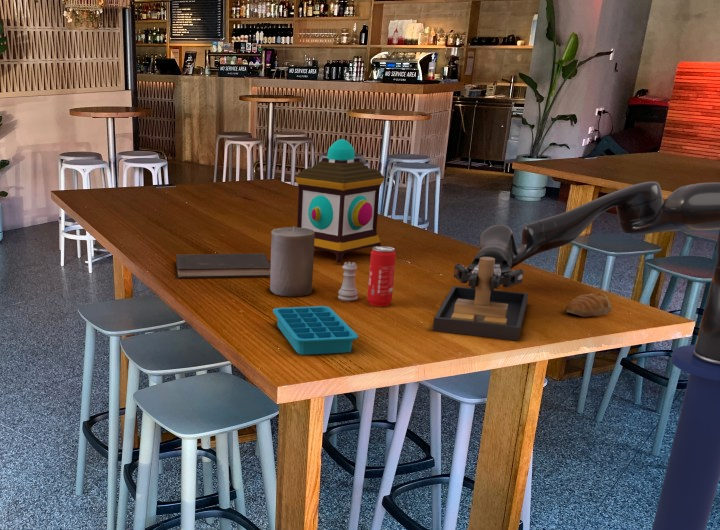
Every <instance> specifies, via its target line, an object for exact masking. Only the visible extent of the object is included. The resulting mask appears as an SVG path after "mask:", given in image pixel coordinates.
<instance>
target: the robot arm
mask: <svg viewBox="0 0 720 530" xmlns="http://www.w3.org/2000/svg"><path fill="white" fill-rule="evenodd" d="M612 208H615V209H616V213H617V214H616V215H617V218H618V224H619V227H620V229H621V231H622V233H624V234H625V235H628V236H642V235H649V234H656V233H658V234H659V233H665V232H688V233H689V232H693V233H694V232H707V231H716V230H719V231H718V234H717V241H716V259H715V260H716V261H715V264H714V268H713V272H712V277H711V280H710V285H709V289H708V293H707V297H706V301H705V305H704V308H703V309H704V310H703V313H702V317H701V320H700V325H699V330H698V332H697V333H698V334H697V339H696V342H695V344H694V345H695V349H694V352H693V356H694V357H695V358H696V359H698V360H700V361H702V362H705V363H708V364H712V365H716V366H720V182H716V181H715V182H712V181H711V182H697V183H691V184H685V185H683V186H680V187H678V188H676V189H675V190H674V191H672V192H670V194H669V195H668V196H667V197H666V199H665V200H664V198H663V191H662V189H661V186H660V183H659V182H657V181H643V182H639V183H634V184H631V185H628V186H626V187H622V188H620V189H617V190H615V191H612V192H610V193H607V194H605V195H602V196H600V197H598V198H595V199H592V200H591V201H588V202H586V203H583V204H581V205H579V206H576V207H575V208H571V209H570V210H568V211H564V212H562V213H559V214H555V215H553V216H550V217H546V218H542V219H538V220H536V221H533V222H529V223H527V224H525V225H524V226H523V228H522V233H521V242H520V246H519V247H518V248H517V244H516V240H515V236H514V231H513V230H512V228H511V227H510V226H508V225H506V224H494V225H490V226H488V227H487V228H485V230H483V231H482V233H481V234H480V235H479V239H478V240H479V250H478V251H477V253H476V255H475V256H474V257H473V260H472V262H471V264H468V265H467V267H466V266H465V265H463V264H461V263H455V264H454V268H453V277H454V278H455V279H456V280H457V281H459V282H460V283H462V284H467V283H468V285H467V287H470V288H471V289H475V288H476V285H477V277H478V269H479V261H480V258H481V257H492V258H495V265H494V272H493V277H492V279H491V285H490V291H494V290H498V289H499V288H500V286H502V288H503V287H504V288H511V287H513V286H516V285H519V284H522V283H523V277H524V272H525V271H524V269H522V268H519V269H516V270H515V269H513V268H515V267H517V266H518V265H520V264H521V263H523V262H524V261H527V260H528V259H530V258H532V257H533V256H536V255H538V254H541V253H545V252H546V251H550V250H555V249H557V248H560V247H564V246H566V245H568V244H570V243H572V242H574V240H576V239H577V238H578V237H579V236H580V235H581V234H582V233H583V232H584V231H585V230H587V228H588V227H589V226H590V225H591V224H592V223H593V222H594V221H595V220H596V219H597V218H598V217H599V216H600V215H602V214H603V213H605V212H607V211H608V210H610V209H612Z"/></svg>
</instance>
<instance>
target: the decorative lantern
mask: <svg viewBox="0 0 720 530" xmlns="http://www.w3.org/2000/svg"><path fill="white" fill-rule="evenodd" d="M355 155H356V152H355V148H354V147H353V145H352V144H351V143H350V142H349V141H348V140H346V139H343V138H340V139H337V140H336V141H335V142H333V143H332V144H331V146H329V148H328V150H327V156H326V157H322V158H321V161H318V162H317V164H315V165H313V166H312V167H307V168H304V169H302V171H299V172H298V174H296V175H294V179H295V182H296V184H297V187H298V195H297V196H298V197H297V198H298V199H297V219H296V220H297V222H296V223H297V224H296V225H297V226H296V227H299V228H307V229H311V230H313V231H314V232H315V240H314V250H319V251H325V252H328V253H333V254H334V255H335V257H336V258H335V259H336V263H337V264H338V265H341V264H342V262H343V258H344V255H345V254H347V253H350V252H351V253H352V252H354V251H355V252H356V251H359V250H364V249H367V248H368V249H369V248H373V247H378V246H382V243H381V240H380V238H379V235H378V232H377V230H378V229H377V227H378V217H379V203H380V190H381V186H382V184H383V182H384V181H385V175H383V174H382V172H379V171H378V169H377V168H371V167H369V166H368V165H366V164H365V162H363V161H360V160H361V159H360V157H355Z"/></svg>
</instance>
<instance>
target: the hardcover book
mask: <svg viewBox="0 0 720 530" xmlns="http://www.w3.org/2000/svg"><path fill="white" fill-rule="evenodd" d="M175 257H176V258H175V262H176V263H175V264H176V276H177V279H212V278H213V279H217V278H219V279H221V278H270V274H271V273H270V272H271V261H269V259H268V257H267V255H266V253H265V252H264V253H263V252H262V253H260V252H259V253H257V252H256V253H253V252H252V253H198V254H197V253H196V254H194V253H193V254H191V253H190V254H189V253H187V254H176V255H175Z"/></svg>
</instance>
